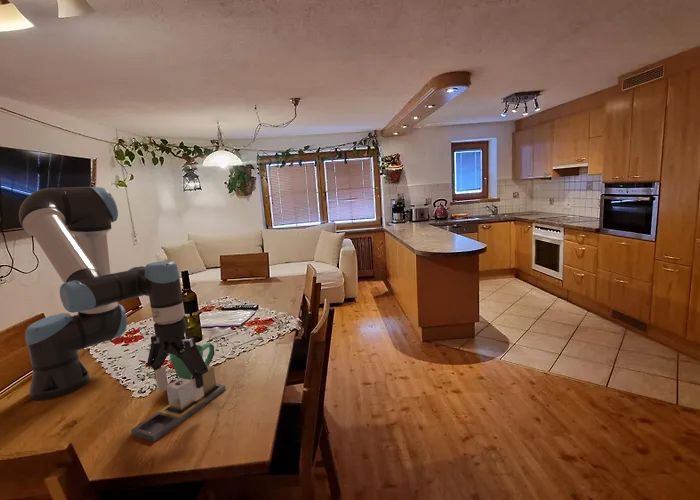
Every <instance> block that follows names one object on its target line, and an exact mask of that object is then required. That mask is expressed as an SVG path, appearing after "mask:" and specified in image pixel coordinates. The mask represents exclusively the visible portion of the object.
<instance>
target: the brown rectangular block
mask: <svg viewBox="0 0 700 500" xmlns="http://www.w3.org/2000/svg"><path fill="white" fill-rule="evenodd" d="M207 368H208V372H207V373H205V374H203V383H204V385H203V391H204V396H203V397H206V396H208V395H209V394H210V393H212V392H213V391H215V390H216V389H217V388H216V384H217V382H216V375H215V374H216V373H215V366H212V365H211V366H210V365H209V366H207ZM190 374H191V373H190ZM191 377H193V375H192V374H191Z"/></svg>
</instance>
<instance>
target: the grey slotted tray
mask: <svg viewBox="0 0 700 500" xmlns="http://www.w3.org/2000/svg"><path fill="white" fill-rule="evenodd" d="M216 388H217V389H216V390H215V391H213V392H212V393H210V394H209V395H208V396H206V397H201V398H200V399H199V400H197V401H195V404H194V405H193V406H191V407H190V408H189V409H187V410H186V411H184V412H183V413H182V414H180V413H176V412H172V411H170V407H169V404H168V405H166V406H165V407H163V408H162V409H160V410H159V411H158V412H156V413H154V414H153V415H151V416H150V417H148V418H147V419H145V420H144V421H142V422H141V423H139V424H137V425H136V426H135V427H133V428H132V429H131V430H130V431H131V435H132V436H133V437H138V438H140V439H144V440H146V441H149V442H152V443H155V442H156V441H158V440H159V439H161V438H162V437H164V436H165V435H167V433H168V432H170V431H172V429H174V428H176V427H177V426H178V425H180V424H182V422H183V421H185V420H187V419H188V418H190V417H191V416H192V415H193V414H195V413H196V412H198V411H199V410H200V409H201V408H203V407H204V406H206V405H207V404H208V403H210V402H211V401H212V400H214V399H215V398H216V397H218V396H219V395H221V394H222V393H224V392H225V391H227V388H226V385H225V384H221V383H220V384H219V383H216Z"/></svg>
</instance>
